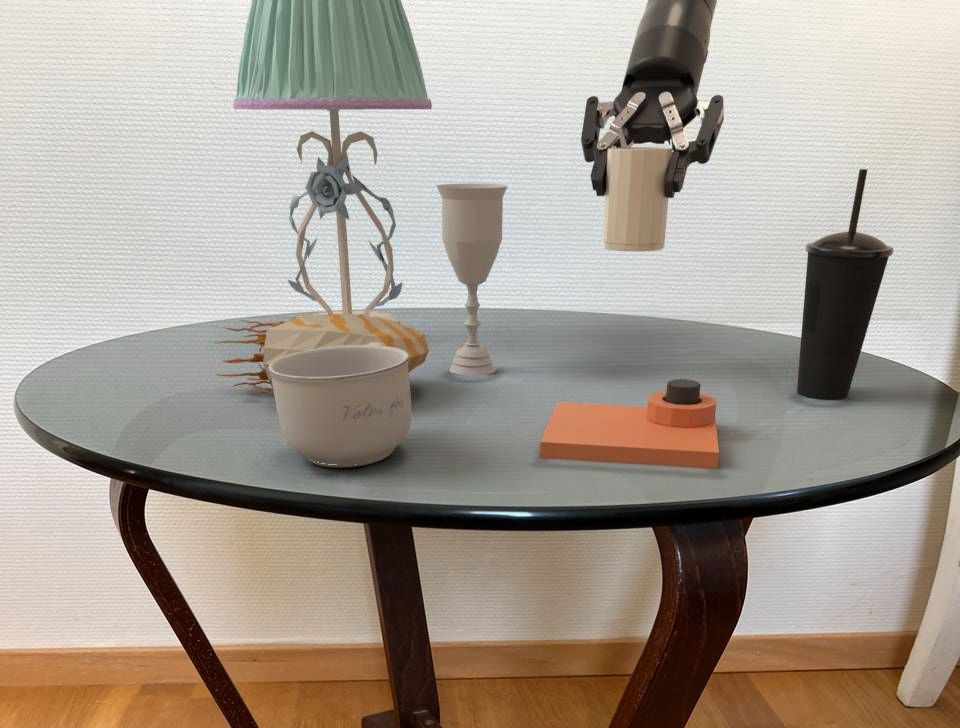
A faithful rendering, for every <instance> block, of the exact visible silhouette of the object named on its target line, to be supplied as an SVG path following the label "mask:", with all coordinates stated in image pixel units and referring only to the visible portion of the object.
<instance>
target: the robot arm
mask: <svg viewBox="0 0 960 728" xmlns="http://www.w3.org/2000/svg"><path fill="white" fill-rule="evenodd" d="M717 3H718V0H647V1H646V5H645V9H644V12H643V14H642V16H641V19H640V21H639V23H638V26H637V29H636V32H635V37H634V41H633V44H632V48H631V52H630V55H629V59H628V62H627V66H626V70H625V74H624V78H623V82H622V87H621V90H620V92H619V93H618V94H617V95H616V97H615V98H614V100H613V101H604V102H600V100H599V97H597V96H596V95H592V96H589V97H588V98H587V100H586V103H585V109H584V117H583V122H582V129H581V136H580V143H581V148H582V153H583V158H584V162H587V163H593V164H592V169H591V172H590V181H591V187H592V190H593V191H595V193H596V197H605V191H606V173H607V154H608V148H621V147H633V145H641V144H642V145H643V144H647V143H648V144H649V143H650V144H655V145H664V144H665V142H667V145H668V148H673V150H672V155H671V159H670V164H669V168H668V172H667V176H666V180H665V193H666V198H668V199H674V198H675V195H676V193H680V192H681V191H682V189H684V188H683V187H684V183H685V179H686V175H687V170H688V168H689V167H690V165H691V164H694V163H696V162H697V163H698V164H700V165H705V164H707V163H709V161H710V158H711V156H712V153H713V150H714V147H715V144H716V142H717V139H718V136H719V135H720V132H721V129H722V126H723V123H724V119H725V115H724V114H725V113H724V112H725V108H724V106H725V104H724V97H723V96H722V95H721V94H715V95H714V96H712V97H711V99H710V101H705V100H699V99H698V97H697V96H698V92H699V88H700V83H701V79H702V75H703V71H704V68H705V64H706V63H707V59H708V54H709V45H710V41H711V30H712V29H711V28H712V23H713V20H714V15H715V11H716V7H717ZM612 117H614V119H613V120H612V122H611V123H610V125H609V129H608V131H607V132H606V133H605V134H604V135H603V136H602V137H601V138H600V134H601V129H604V128H605V127H606V126H605V125H606V124H607V123H608V120H609V119H610V118H612ZM696 117H699V122H700V123H699V124H700V127H699V130H698V134H697V136H696V137H695V138H696V139H695V140H692V141H688V137H687V135H686V133H685V130H684V128H685V127H687V126H688V125H689V124H690V123H691V122H693V120H695V119H696Z"/></svg>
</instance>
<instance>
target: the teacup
mask: <svg viewBox="0 0 960 728" xmlns="http://www.w3.org/2000/svg"><path fill="white" fill-rule="evenodd" d="M408 362H409V355H408V353H407V352H405V351H404V350H401V349H398V348H394V347H388V346H387V345H385V344H384V343H380V342H374V343H370V344H368V345H347V346H343V345H341V346H332V347H324V348H318V349H311V350H305V351H301V352H297V353H293V354H289V355H286V356H283V357H280V358H278V359H276V360H274V361H273V362H272V363H270V365H269V367H268V370H269V373H270V375H271V377H272V384H273V390H274V391H273V395H274V401H275V407H276V411H277V417H278V422H279V425H280V429H281V432H282V435H283V438H284V440H285V441H286V443H287V445H288V446H289V447H290V448H291V449H292V450H293V451H294V452H296V453H298V454H299V455H301V456H303V457H305V458H306V459H307V461H309V462H310V463H312V464H314V465H317V466H320V467H326V468H355V467H361V466H367V465H371V464H374V463H377V462H380V461H382V460H384V459H386V458H388V457H389V456H391V454H392V453H393V452H394V450H395V449H396V448H397V447H398V446H399V445H400V444H401V443H402V442H403V441H404V440H405V438H406V437H407V435H408V434H409V432H410V427H411V422H412V397H411V396H412V395H411V383H410V382H411V381H410V373H409V371H408ZM309 459H310V460H309ZM314 461H315V462H314ZM317 462H319V463H317ZM321 463H325V464H321ZM328 464H337V465H328ZM355 464H356V465H355Z"/></svg>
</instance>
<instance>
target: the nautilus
mask: <svg viewBox="0 0 960 728" xmlns="http://www.w3.org/2000/svg"><path fill="white" fill-rule="evenodd" d="M317 314H318V315H312V314H306V315H298V316H294V317H292V318H291V319H289V320H288V321H282V320H280V321H279V322H266V323H263V322H259V321H247V320H243V319H241V321H242V322H245V323H248V324H254V325H252V326H250V327H243V328H231V327H225V326H224V327H223V329H226V330H228V331H233V332H241V331H248V332H253V334H247V335H244V336H243V337H244V338H247V337H248V338H249V337H256V338H255V339H248V340H221V341H215V342H214V343H213V344H214V345H217V344H232V343H233V344H255V345H259V346H260V348H259V349H258V352H261V350H262V348H263V353H257V352H255V353H253V357H252V358H241V357H240V358H239V357H238V358H233V359H224V360H222V361H221V362H222V363H226V364H238V363H239V364H240V363H246V362H248V363H257V365H258V366H259V368H260V371H258V372H245V373H233V374H221V373H215V374H216V376H219V377H229V378H230V377H231V378H232V377H246V376H248V377H246V379H247V380H249V381H250V380H251V381H256V382H245V381H244V382H239V383H236V384H232V385H233V386H232V387H238V386H242V385H248V386H253V387H254V388H257V389H260V390H262V391H257V392H254V393H252V394H251V396H255V395H257V394H266V393H270V392H274V390H273V384H272V377H271V375H270V373H269V370H268V367H269V365H270V363H272V362H273V361H274V360H276V359H278V358H280V357H283V356H286V355H289V354H293V353H297V352H301V351H305V350H311V349H318V348H324V347H332V346H341V345H343V346H347V345H368V344H370V343H374V342H380V343H384V344H385V345H387V346H388V347H394V348H398V349H401V350H404V351H405V352H407V353H408V355H409V362H408V371H409V374H410V373H411V372H412V371H413V370H415V368H417V367H420V366H421V365H422V364H424V363H425V362H426V360H427V356H428V353H429V352H430V349H429V345H428V344H427V341H426V337H425V334H424V333H423V332H421V331H419V330H417V329H415V328H413V327H411V326H410V325H407V324H404V323H401V322H400V323H398V322H394V321H391V320H388V319H384V318H381V317H368V316H365V315H363V314H359V315H357V314H319V313H317ZM267 326H270V328H267V329H262V330H259V329H254V328H259V327H267ZM261 363H263V367H264V368H263V367H262V365H261ZM249 376H250V377H249ZM252 377H258V378H252ZM260 384H268V385H271V387H262V386H258V385H260ZM263 388H264V389H263Z"/></svg>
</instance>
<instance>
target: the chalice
mask: <svg viewBox="0 0 960 728" xmlns="http://www.w3.org/2000/svg"><path fill="white" fill-rule="evenodd" d="M508 186H509V185H508V184H501V183H477V182H476V183H474V182H473V183H471V182H470V183H445V184H444V183H443V184H437V185H436V188H437V190H438V193H439V195H440V197H441V233H442V234H441V236H442V237H441V238H442V239H441V240H442V242H443V245H444V249H445V252H446V255H447V258H448V260H449V263H450V264H451V267H452V269H453V272H454V273H455V276H456V277H457V281H458V282H459V283H461V284H462V285H465V286H466V290H467V299H466V302H465V304H464V307H465V308H466V311H467V317H466V321H465V322H464V324H463V325H464V326H465V327H466V330H467V338H466V339H467V340H466V342H464V344H465V345H463V346H460V347H459V348H458V349H457V350H456V352H455V353H454V355H455V356H454V357H453V359H452V361H451V362H452V363H451V366H450V367H449V368H448V369H449V370H448V371H449V372H450V373H451V374H456V375H463V376H488V375H492V374H494V373H495V372H497V371H496V367H495V366H494V364H493V359H492V358H491V356H490V352H489V351H488V349H487V348H486V347H484V346H481V345H480V344H481V342H479V341H478V340H479V339H478V336H477V334H478V329H479V327H480V326H481V324H482V323H481V321H479V319H478V315H477V314H478V310H479V308H480V307H481V304H480V303H479V298H478V288H479V285H482V284H484V283H486V281H487V279H488V277H489V275H490V272H491V271H492V268H493V266H494V264H495V261H496V259H497V257H498V253H499V250H500V247H501V244H502V242H503V241H502V240H503V212H504V211H503V210H504V209H503V207H504V204H503V203H504V202H503V201H504V196H505V194H506V192H507V189H508Z"/></svg>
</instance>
